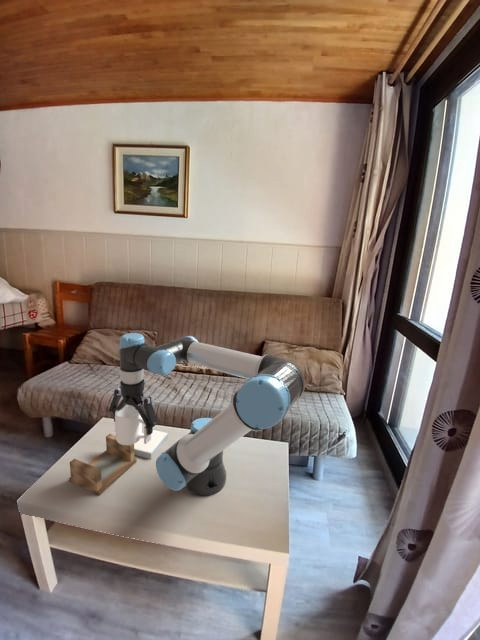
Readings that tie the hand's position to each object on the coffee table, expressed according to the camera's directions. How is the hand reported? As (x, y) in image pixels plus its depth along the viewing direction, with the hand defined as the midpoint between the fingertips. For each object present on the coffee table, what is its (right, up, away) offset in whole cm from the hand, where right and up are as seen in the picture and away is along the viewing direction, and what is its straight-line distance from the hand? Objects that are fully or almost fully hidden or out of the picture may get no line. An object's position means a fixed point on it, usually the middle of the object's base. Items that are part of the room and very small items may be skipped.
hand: (132, 435), depth 107 cm
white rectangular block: (-1, -12, +21) cm, 24 cm away
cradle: (-12, -15, +6) cm, 20 cm away
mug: (0, -2, 0) cm, 2 cm away
